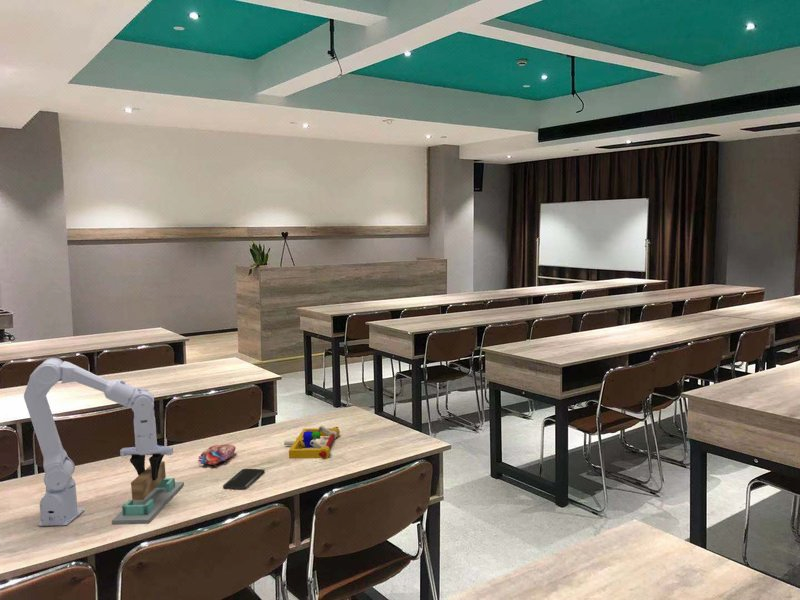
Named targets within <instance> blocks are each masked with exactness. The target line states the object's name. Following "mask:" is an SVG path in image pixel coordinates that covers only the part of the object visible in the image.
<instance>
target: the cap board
mask: <svg viewBox="0 0 800 600" xmlns="http://www.w3.org/2000/svg"><path fill="white" fill-rule="evenodd" d="M183 485H184V486H185V482H184V481H175V477H165V478H164V479H163V480H162V481H161V482H160V483H159V484H158V485H157V486H156V487H155V488H154V489H153V490H152V491H151V492H150V493H149V494H148V495H147V496H146V497H145V498H144V499H143V500H132V499H128V500H127V502H125V503H124V504H122V507H121V509H122V510H121V511H120V512H119V513H118V514H117V515H116V516H115V517H114V518H113V519H112V520H111V524H112V525H129V524H131V525H133V524H135V525H136V524H138V525H139V524H150V523H151V522H152V521H153V520H154V519H155V517H156V516H157V515H158V514H159V513H160V512H161V511H162V510H163V509H162V508H165V507H166V505H167V504H168V503H169V502H170V501H171V500H172V499H173V498H174V497H175V496H176V495H177V494H178V493H179V491H180V490H181V489H182V488H183V487H184V486H183ZM182 486H183V487H182ZM173 496H174V497H173ZM172 497H173V498H172Z"/></svg>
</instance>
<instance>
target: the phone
mask: <svg viewBox="0 0 800 600" xmlns="http://www.w3.org/2000/svg"><path fill="white" fill-rule="evenodd" d="M264 474H265V469H263V468H262V469H261V468H260V469H259V468H242V469H241V470H240V471H239V472H237V473H236V474H235V475H234V476H232V477H231V478H229V480H228V481H226V482H225V483H224V484H223V485H222V489H223V490H231V489H233V490H235V491H245V490H246V491H247V489H249V488H250V487H251V486H252V485H253V484H254V483H256V481H257V480H259V479H260V478H261V477H262V476H263V475H264Z"/></svg>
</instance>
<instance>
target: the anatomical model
mask: <svg viewBox="0 0 800 600" xmlns="http://www.w3.org/2000/svg"><path fill="white" fill-rule="evenodd" d="M236 449H237V448H236V446H235V445H234V444H229V443H226V444H216V445H213V446H212V445H211V446H209V447H208V448H205V449H204V450H203V451H202V452H201V453H200V455H199V456H198V461H197V462H198V463H201V464H203V465H205V464H207V465H214V466H215V465H218V464H220V463H222V462H224V461H227V460H228V459H229V458H231V457H232V456H233V455H234V453H235V452H236Z"/></svg>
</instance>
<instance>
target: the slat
mask: <svg viewBox="0 0 800 600" xmlns="http://www.w3.org/2000/svg"><path fill="white" fill-rule="evenodd" d="M164 478H167V474H166V464H165V461H164V460H162V461H161V464H160V467H159V471H158V478H157V479H156V480H152V470H151V465H150V464H149V466H148V467H146V468H145V471H143V472H142V473H141V474H140V475H139V476H138V475H137V476H136V478H134V479H133V480H132V481H131V482H130V489H131V498H132V499H131V500H143V499H144V498H145V497H146V496H147V495H148V494H149V493H150V492H151V491H152V490H153V489H154V488H155V487H156V486H157V485H158V484H159V483H160V482H161V481H162V480H163V479H164Z"/></svg>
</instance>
